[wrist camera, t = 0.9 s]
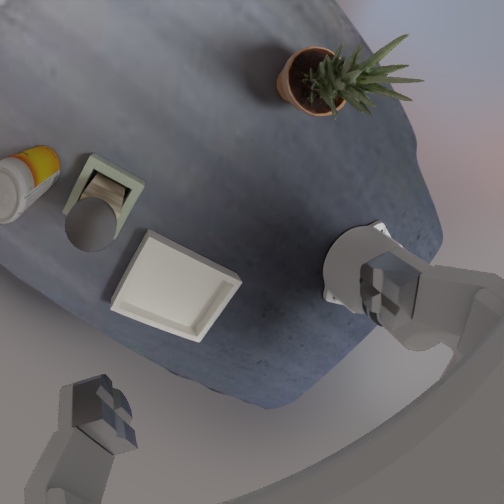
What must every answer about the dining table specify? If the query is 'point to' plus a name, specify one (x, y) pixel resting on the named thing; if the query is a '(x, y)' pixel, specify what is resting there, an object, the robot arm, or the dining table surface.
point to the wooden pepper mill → (95, 214)
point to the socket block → (117, 175)
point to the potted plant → (336, 80)
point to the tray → (173, 288)
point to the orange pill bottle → (26, 180)
